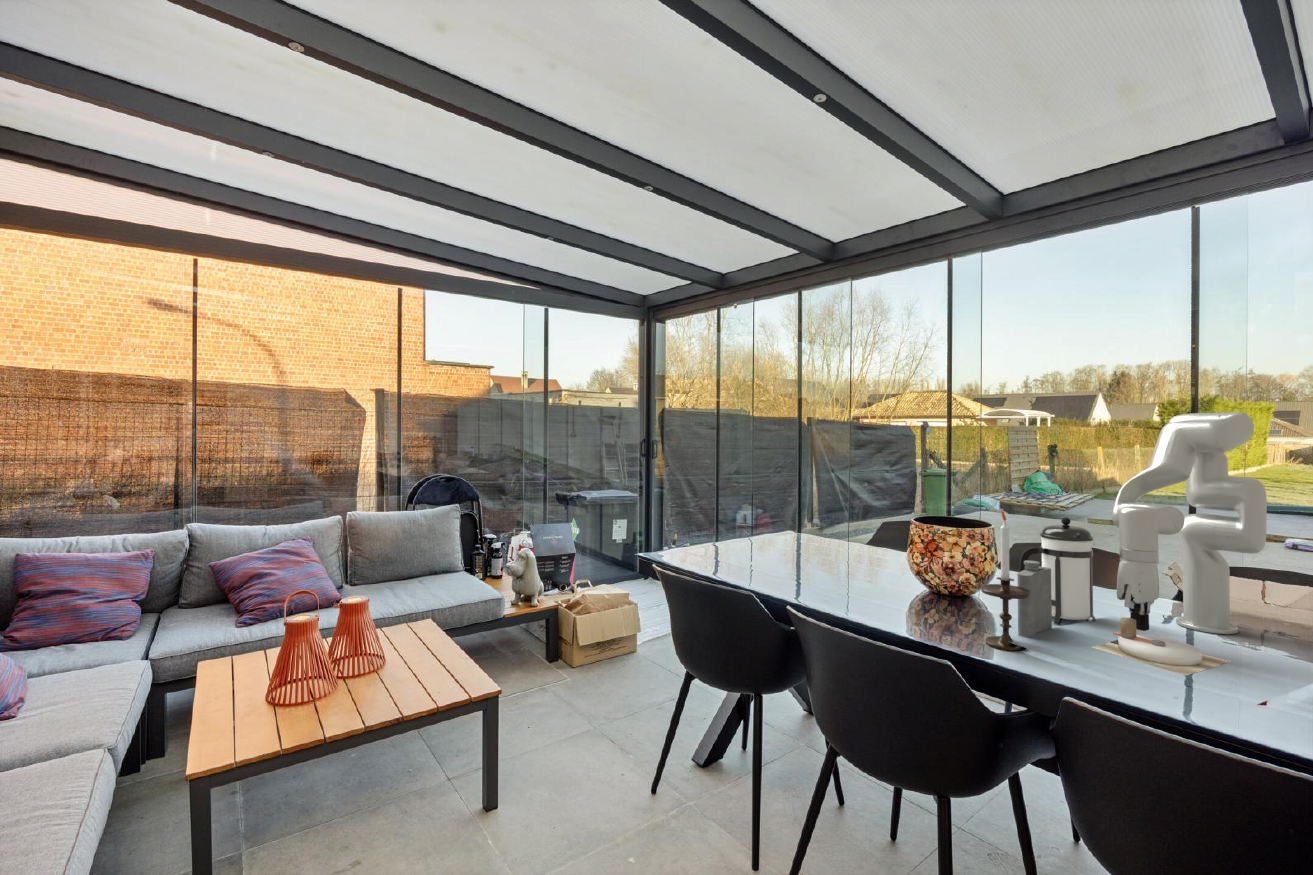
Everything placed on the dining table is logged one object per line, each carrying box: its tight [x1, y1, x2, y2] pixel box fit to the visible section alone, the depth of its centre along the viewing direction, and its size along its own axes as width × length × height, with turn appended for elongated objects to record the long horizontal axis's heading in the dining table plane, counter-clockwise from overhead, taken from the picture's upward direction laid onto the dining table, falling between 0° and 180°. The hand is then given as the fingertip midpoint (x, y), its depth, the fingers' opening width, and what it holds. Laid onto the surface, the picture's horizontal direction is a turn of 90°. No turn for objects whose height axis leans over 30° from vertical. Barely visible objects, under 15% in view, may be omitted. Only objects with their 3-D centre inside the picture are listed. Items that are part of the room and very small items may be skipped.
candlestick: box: [980, 508, 1030, 653], centre depth 149 cm, size 11×11×35 cm
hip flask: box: [1017, 560, 1053, 638], centre depth 157 cm, size 16×4×20 cm, turn 127°
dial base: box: [1090, 639, 1232, 677], centre depth 138 cm, size 19×19×2 cm
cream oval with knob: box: [1113, 616, 1203, 665], centre depth 139 cm, size 16×15×6 cm
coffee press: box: [1018, 517, 1098, 626], centre depth 170 cm, size 17×16×30 cm
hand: (1139, 628), depth 146 cm, fingers closed
